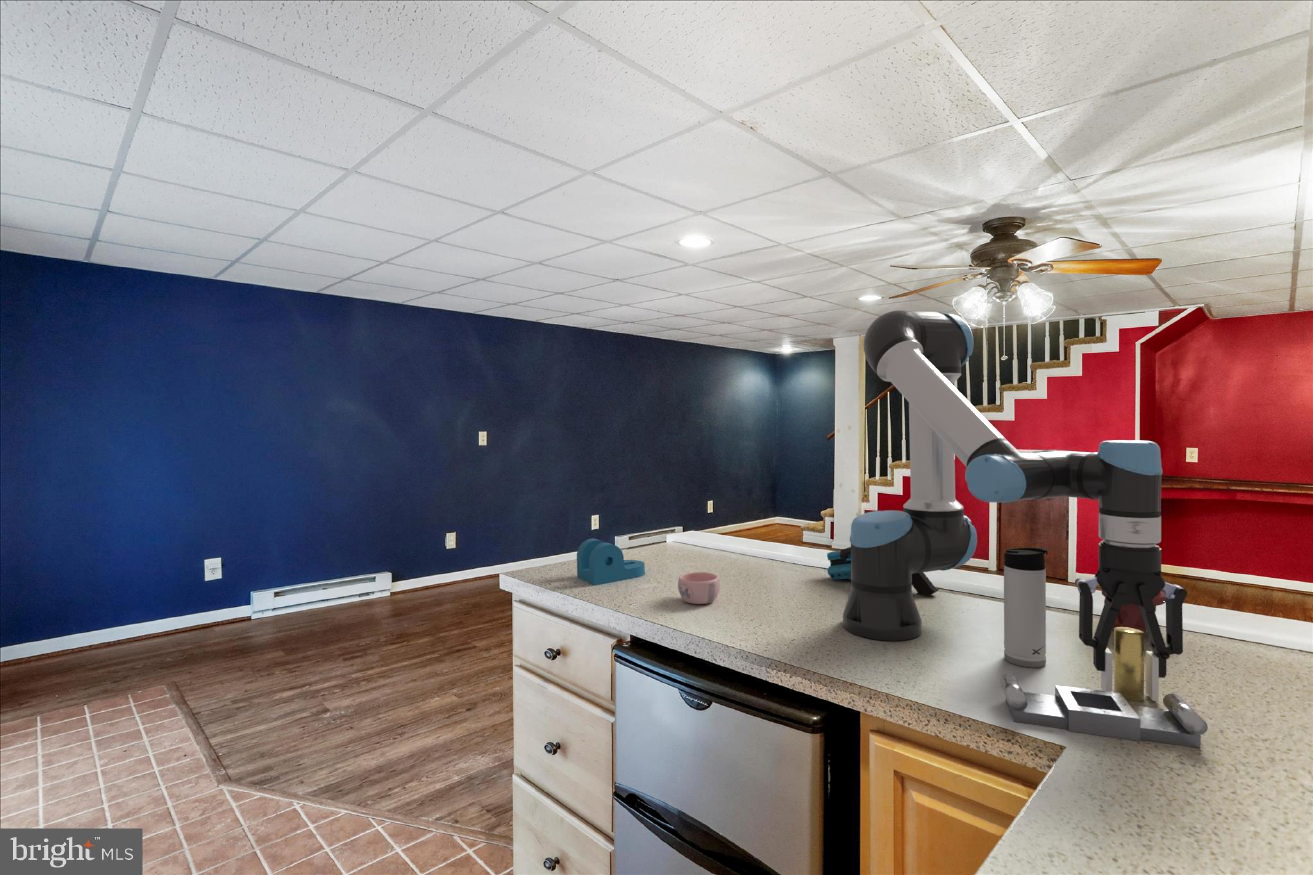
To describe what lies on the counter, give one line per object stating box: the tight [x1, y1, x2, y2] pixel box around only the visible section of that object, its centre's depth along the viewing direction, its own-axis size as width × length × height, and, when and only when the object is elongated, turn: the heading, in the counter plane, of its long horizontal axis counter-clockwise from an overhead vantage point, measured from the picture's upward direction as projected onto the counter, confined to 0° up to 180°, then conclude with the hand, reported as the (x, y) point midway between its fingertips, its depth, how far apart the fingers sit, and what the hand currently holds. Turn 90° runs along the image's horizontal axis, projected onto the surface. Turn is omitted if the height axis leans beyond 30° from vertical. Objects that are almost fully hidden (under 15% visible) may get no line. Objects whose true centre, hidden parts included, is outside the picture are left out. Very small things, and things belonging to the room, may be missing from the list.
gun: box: [826, 546, 939, 596], centre depth 157 cm, size 8×26×15 cm, turn 43°
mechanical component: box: [1101, 588, 1166, 638], centre depth 121 cm, size 12×10×10 cm
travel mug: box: [1003, 547, 1049, 669], centre depth 107 cm, size 6×7×20 cm
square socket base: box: [1000, 673, 1208, 749], centre depth 86 cm, size 22×8×4 cm, turn 68°
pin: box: [1113, 627, 1145, 702], centre depth 94 cm, size 4×4×10 cm
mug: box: [677, 571, 721, 605], centre depth 148 cm, size 12×10×6 cm
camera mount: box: [576, 538, 646, 586], centre depth 172 cm, size 18×10×10 cm, turn 123°
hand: (1128, 693), depth 94 cm, fingers open, 5 cm apart
